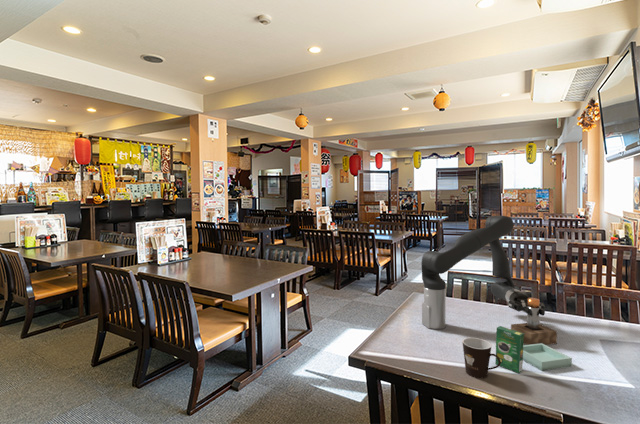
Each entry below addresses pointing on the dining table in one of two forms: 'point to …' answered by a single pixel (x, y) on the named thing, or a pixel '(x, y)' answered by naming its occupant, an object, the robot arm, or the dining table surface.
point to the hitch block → (536, 334)
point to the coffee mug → (477, 357)
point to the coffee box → (509, 349)
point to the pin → (533, 314)
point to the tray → (545, 357)
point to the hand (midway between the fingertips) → (536, 312)
